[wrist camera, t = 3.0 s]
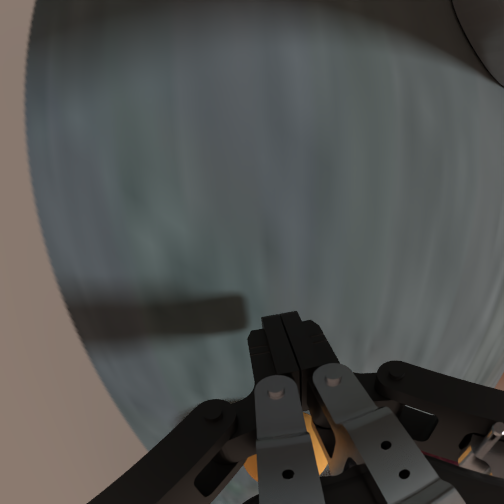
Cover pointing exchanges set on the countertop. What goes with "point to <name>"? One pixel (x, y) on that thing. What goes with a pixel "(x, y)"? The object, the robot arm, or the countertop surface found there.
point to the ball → (319, 455)
